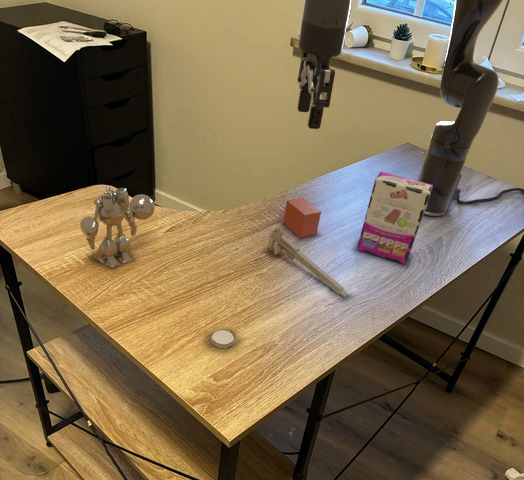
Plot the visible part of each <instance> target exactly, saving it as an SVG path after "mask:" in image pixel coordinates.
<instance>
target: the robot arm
mask: <svg viewBox="0 0 524 480" xmlns="http://www.w3.org/2000/svg"><path fill="white" fill-rule="evenodd" d="M503 1H504V0H455V1H454V9H453V16H452V23H451V30H450V36H449V41H448V47H447V51H446V56H445V60H444V64H443V69H442V74H441V79H440V85H439V86H440V87H439V95H440V98H441V100H442V101H443V102H444V103H445V104H447V105H448V106H451V107H453V108H455V109H456V110H459V112H458V114H457V117H456V118H455V120H444V121H439V122H438V123H436V124H435V126H434V128H433V131H432V134H431V137H430V141H429V143H428V146H427V149H426V152H425V156H424V159H423V162H422V165H421V167H420V169H419V173H418V177H417V179H416V181H420V182H423V183H427V184H431V185H433V187H432V190H431V193H430V196H429V199H428V202H427V205H426V208H425V211H424V214H423V216H428V217H442V216H444V215H445V214H447V212H448V211H449V209H450V208H451V204H452V202H456V203H457V204H459V205H471V204H477V203H485V202H491V201H495V200H499V198H501V196H502V195H504V194H506V193H511V192H517V191H518V192H521V193H522V194H523V195H524V188H520V187H514V188H513V187H512V188H507V189H503V190H501V191H500V192H499V193H498V194H497V195H496V196H492V197H488V198H477V199H473V200H467V201H464V200H460V194H461V191H462V189H461V188H460V187H458V186H459V184H460V181H461V179H462V171H463V168H464V165H465V163H466V160H467V158H468V156H469V153H470V150H471V147H472V145H473V142H474V140H475V138H476V137H477V136H478V134H479V132H480V131H481V129H482V126H483V124H484V122H485V119H486V117H487V115H488V112H489V111H490V108H491V106H492V104H493V102H494V99H495V97H496V95H497V92H498V87H499V75H498V73H497V72H496V71H495V70H493V69H491V68H489V67H486V66H483V65H481V64H478V63H476V62H474V53H475V48H476V43H477V40H478V37H479V35H480V33H481V31H482V30H483V28H484V27H485V26H486V25H487V23H488V22H489V21H490V19H491V18H492V17H493V15H494V14H495V13H496V11H497V10H498V9H499V7H500V6H501V4H502V3H503ZM351 2H352V0H304V6H303V13H302V20H301V25H300V26H301V27H300V34H299V40H298V48H299V49H300V51H301V57H300V64H299V65H300V66H299V70H298V75H297V83H298V84H299V85H298V89H299V97H298V102H297V111H298V112H299V113H309V116H308V121H307V127H308V128H309V129H311V130H319V129H320V128H321V125H322V120H323V114H324V109H326V108H330V105H331V98H332V93H333V88H334V82H335V76H336V70H335V69H333V68H332V69H331V66H330V63H331V61H330V60H331V58H333V57H335V58H336V57H338V56H340V55H342V52H343V48H344V47H343V46H344V41H345V36H346V31H347V26H348V21H349V15H350V11H351Z"/></svg>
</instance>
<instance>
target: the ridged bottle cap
mask: <svg viewBox="0 0 524 480" xmlns="http://www.w3.org/2000/svg"><path fill="white" fill-rule="evenodd" d="M235 341H236V336H235V334H234V333H233V332H232V331H230V330H228V329H217V330H214V331H213V332H212V333H211V334H210V342H211V344H212V345H213V346H215V347H216V348H220V349H227V348H230V347H233V345H235Z"/></svg>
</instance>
